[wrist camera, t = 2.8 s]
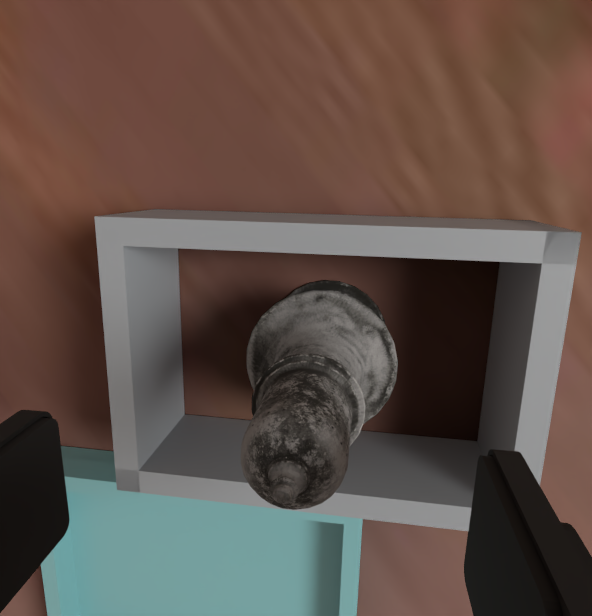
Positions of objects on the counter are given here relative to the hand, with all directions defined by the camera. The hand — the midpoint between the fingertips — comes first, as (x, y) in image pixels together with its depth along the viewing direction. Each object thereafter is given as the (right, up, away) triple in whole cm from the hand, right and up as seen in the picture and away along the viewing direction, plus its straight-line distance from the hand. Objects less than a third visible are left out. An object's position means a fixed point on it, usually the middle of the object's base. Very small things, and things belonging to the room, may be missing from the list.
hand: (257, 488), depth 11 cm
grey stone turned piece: (+2, +3, +12) cm, 12 cm away
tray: (-4, -10, +16) cm, 19 cm away
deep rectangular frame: (+2, +3, +12) cm, 12 cm away
